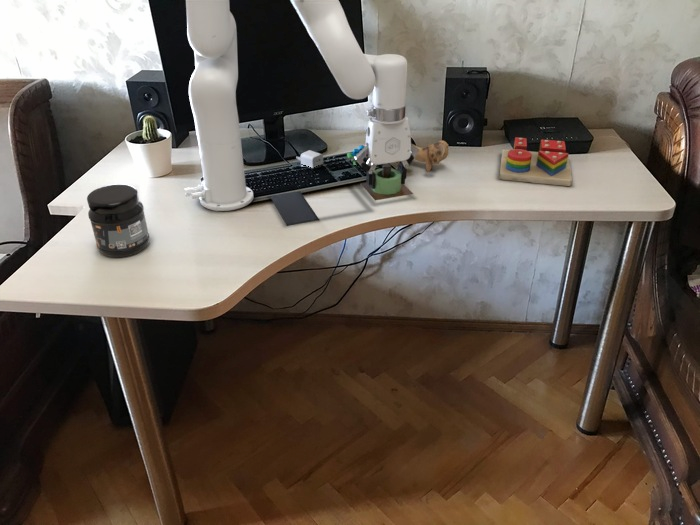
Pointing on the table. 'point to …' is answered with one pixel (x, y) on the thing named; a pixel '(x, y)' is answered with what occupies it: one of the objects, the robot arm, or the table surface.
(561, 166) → the shape sorter
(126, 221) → the supplement container
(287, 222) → the mat
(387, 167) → the stand
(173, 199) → the table surface
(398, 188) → the ring
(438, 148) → the lion figurine
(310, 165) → the usb wall charger
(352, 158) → the dinosaur figurine
